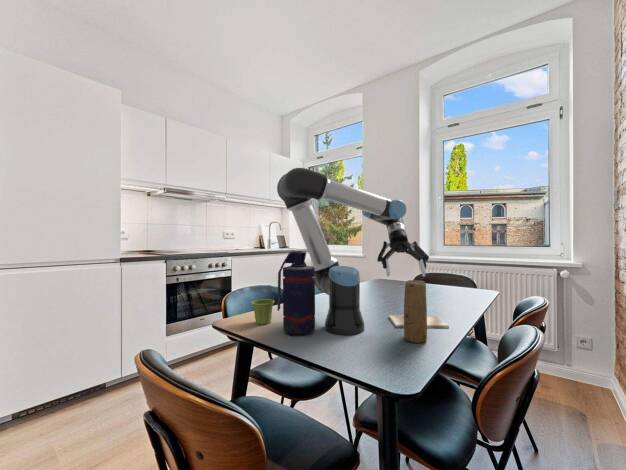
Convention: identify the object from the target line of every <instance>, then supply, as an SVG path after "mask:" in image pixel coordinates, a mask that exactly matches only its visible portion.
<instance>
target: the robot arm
mask: <svg viewBox="0 0 626 470" xmlns="http://www.w3.org/2000/svg"><path fill="white" fill-rule="evenodd" d="M276 190H277V191H276V192H277V194H278V197H279V198H280V199H281V200H282V201H283V202H284V205H285V207H286V209H287V210H288V211H290V212H291V213H292V215H293V217H294V220H295V222H296V225H297V227H298V230H299V232H300V234H301V238H302V240H303V242H304V244H305V247H306V249H307V252H308V255H309V257H310V259H311V261H312V267H314V268H315V276H314V277H313V278H315V288H317V289H318V291H320V292H321V293H323V294H326V295H328V298H329V300H328V301H329V302H328V312H327V315H326V318H325V320H324V329H325V331H326V332H328V333H331V334H334V335H341V336H342V335H343V336H351V335H357V334H361V333H363V332H364V331H365V321H364V319H363V315H362V311H361V307H360V304H361V303H360V299H361V298H360V297H361V294H360V293H361V291H360V288H361V287H360V285H361V284H360V283H361V277H360V271H359V270H358V269H357V268H355V267H352V266H348V265H340V264H339V263H340V262H339V261H338V259H337V258H335V257H334V256H332V254H331V251H330V247H329V246H328V243H327V241H326V237H325V236H324V235H325V234H324V232H323V229H322V227H321V225H320V222H319V220H318V217H317V215H316V212H315V209H314V207H313V201H314V200H317V201H319V200H322V199H324V200H327V201H330V202H333V203H337V204H340V205H343V206H347V207H349V208H353V209H356V210H360V211H361V214H362V215H363V217H365V218H367V219H368V220H371V221H374V222H376V223H378V224H382V225H384V226H386V231H387V236H388V241H389V242H387V241H385V240H384V241H383V243H382V244H383V245H382V247H381V250H380V251H379V254H378V256H377V262H378V263H380V262H381V264H382V268H383V269H385V272H386V276H387V277H388V278H389V277H390V274H391V270H390V265H389V259H390V258H391V257H392V256H393V255H394V254H395V253H399V254H400V253H401V254H405V253H406V254H407V255H410V256H411V257H412V258H414V259H415V260H416V261H418V265H419V268H420V271H421V275H422V277H426V274H427V271H426V268H427V262H428V261H429V259H430V256H429V255H428V253H426V252H425V251H424V249H422V248H421V246H419V245H418V243H417V241H413V242H409V239H408V235H407V231H406V227H405V224H404V220H403V219H404V218H403V217H405V216H406V213H407V205H406V203H405V202H404V201H403V200H401V199H393V200H392V199H390V198H386V197H383V196H381V195H380V196H379V195H378V194H377V195H376V194H374V193H371V192H369V191H365V190H363V189H359V188H357V187H354V186H350V185H348V184H344V183H342V182H338V181H336V180H333V179H329V177H328V175H327V174H323V173H321V172H318V171H316V170H315V171H314V170H311V169H309V168H305V167H296V168H295V167H294V168H292V169H290V170H289V171H287V173H285V174H283V175H282V176H281V177H280V179H279V180H278V183H277V186H276ZM389 247H390V249H389V250H388V251H387V252H386V249H388V248H389ZM385 252H386V253H385Z"/></svg>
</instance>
